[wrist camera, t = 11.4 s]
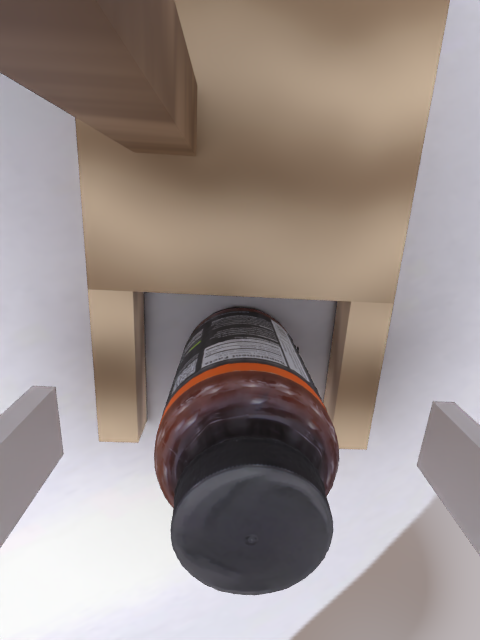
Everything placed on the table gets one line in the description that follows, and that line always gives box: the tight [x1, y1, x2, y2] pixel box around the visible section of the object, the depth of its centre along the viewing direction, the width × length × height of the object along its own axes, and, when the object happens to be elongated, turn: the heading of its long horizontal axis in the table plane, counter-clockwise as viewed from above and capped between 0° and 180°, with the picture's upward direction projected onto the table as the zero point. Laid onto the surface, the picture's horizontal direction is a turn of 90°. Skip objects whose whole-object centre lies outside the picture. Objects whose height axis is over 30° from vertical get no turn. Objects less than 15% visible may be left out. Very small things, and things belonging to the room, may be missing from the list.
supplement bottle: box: [154, 308, 339, 595], centre depth 14 cm, size 6×6×11 cm
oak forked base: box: [75, 0, 450, 450], centre depth 17 cm, size 20×14×2 cm
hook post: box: [0, 0, 197, 156], centre depth 8 cm, size 2×6×12 cm, turn 87°
